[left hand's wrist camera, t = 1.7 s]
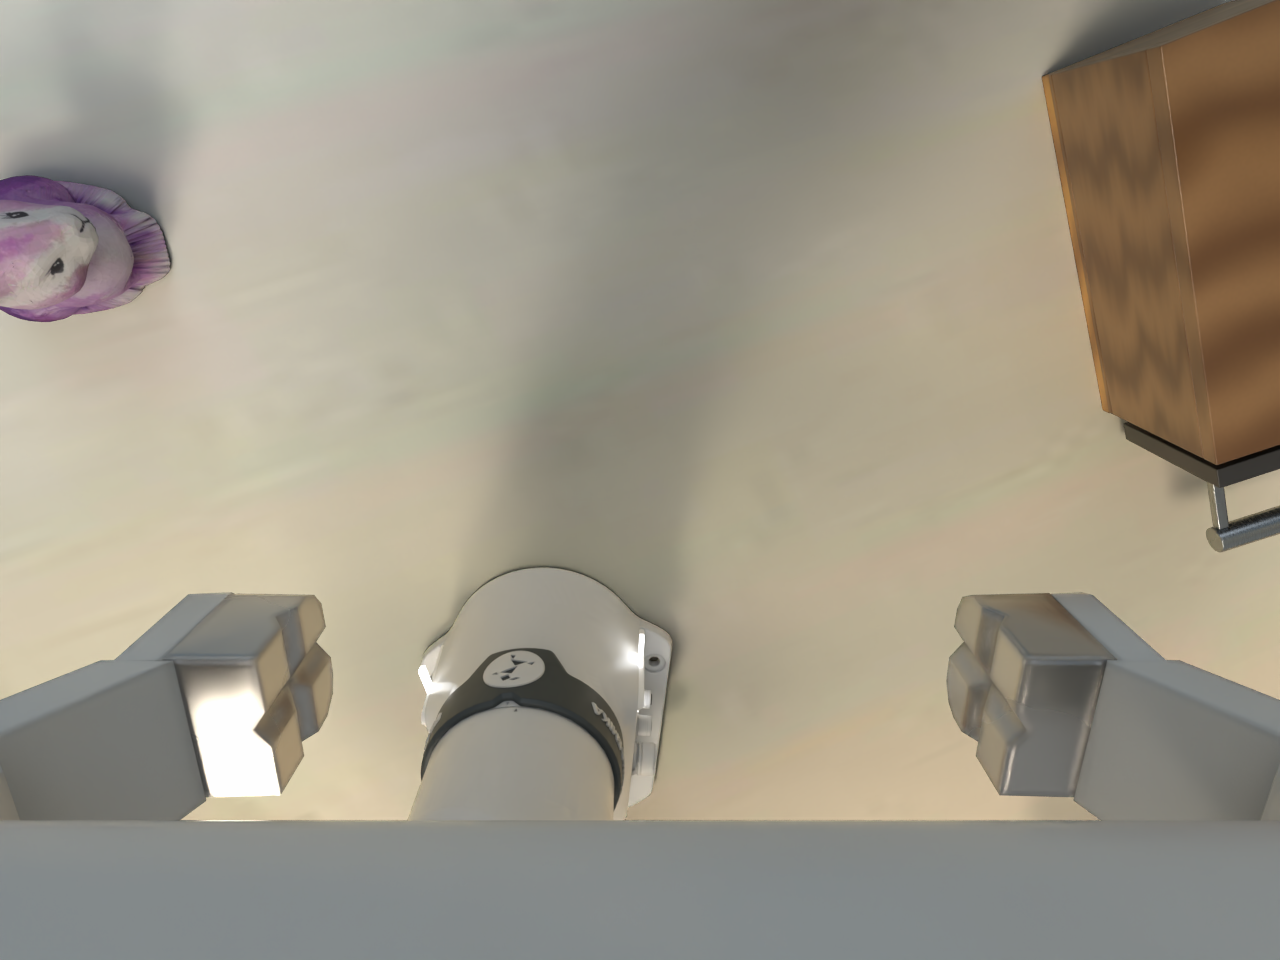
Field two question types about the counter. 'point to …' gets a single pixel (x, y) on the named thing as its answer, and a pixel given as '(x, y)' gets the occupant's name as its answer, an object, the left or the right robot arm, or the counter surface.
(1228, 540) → the drawer
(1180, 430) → the cabinet
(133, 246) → the figurine
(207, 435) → the counter surface
